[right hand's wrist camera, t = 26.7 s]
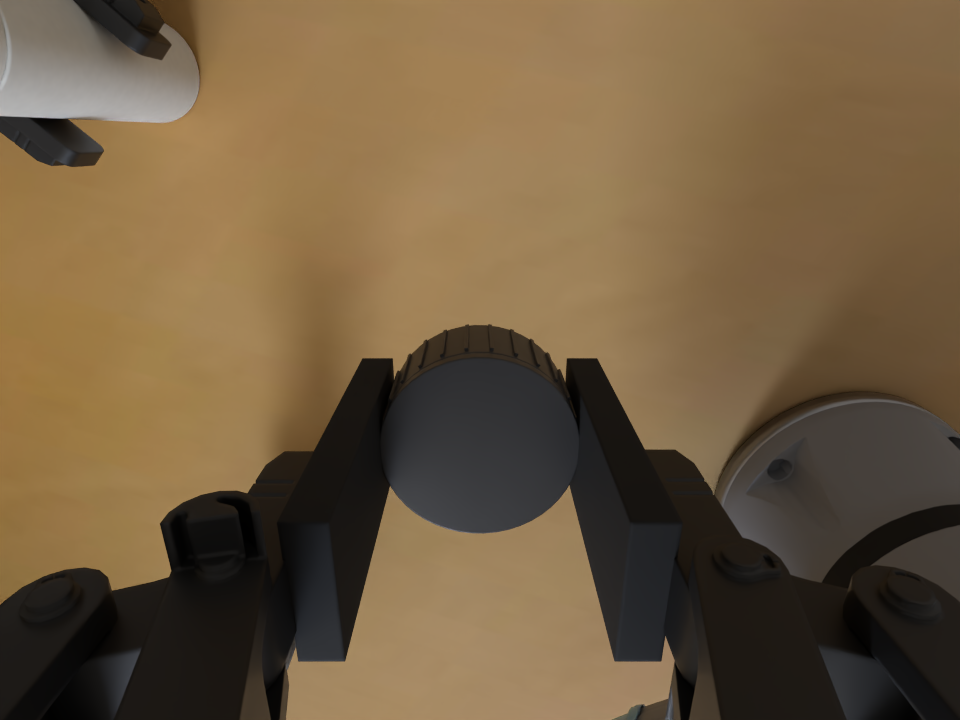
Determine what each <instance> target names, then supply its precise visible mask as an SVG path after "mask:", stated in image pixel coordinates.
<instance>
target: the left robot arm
mask: <svg viewBox="0 0 960 720" xmlns="http://www.w3.org/2000/svg"><path fill="white" fill-rule="evenodd" d="M73 1H74V2H76V3H77V4H78V5H79V6H80V7H81V8H83V9H84V10H85V11H86V12H87V13H88V14H90V15H91V16H92V17H93V18H94V19H95V20H97V21H98V22H99V23H100V24H101V25H102V26H104V27H105V28H106V29H107V30H108V31H109V32H111V33H112V34H113V35H114V36H115V37H116V38H118V39H119V40H120V41H121V42H122V43H123V44H125V45H126V46H127V47H128V48H130V49H131V50H133V51H134V52H136V53H138V54H140V55H142V56H145V57H150V58H154V59H158V60H163V58H164V57H165V55H166V54H167V52H168V50H169V49H170V47H171V46H172V44H171V43H170V42H169V41H168V40H167V39H166V38H165V37H164V36H163V35H162V34H161V33H159V31H160V29H161V28H162V26H163V25H164V21H163V19H162V18H161V16H160V14H159V13H158V11H157V9H156V8H155V7H154V6H153V5H152V4H151V3H149V2H148V1H147V0H73ZM0 132H1V133H2V134H4V135H5V136H6V137H7V138H9V139H10V140H11V141H13V142H15V144H16V145H18V146H19V147H20V148H22V149H24V150H25V151H26V152H27V153H28V154H29V155H31V156H32V157H33V158H35V159H36V160H37V161H40V162H42V163H45V164H48V165H51V166H58V165H67V166H70V167H78V166H93V165H95V164H96V163H97V161H98V159H99V158H100V156H101V155H102V153H103V152H104V150H103V148H102V147H101V146H100V145H99V144H98V143H97V142H96V141H94V140H93V139H92V138H91V137H89V136H88V135H87V134H86V133H84V132H83V131H82V130H81V129H79V128H78V127H77V126H76V125H74V124H73V123H72V122H71V121H69V120H68V119H59V118H35V117H12V116H0Z"/></svg>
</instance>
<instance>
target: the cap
mask: <svg viewBox="0 0 960 720" xmlns="http://www.w3.org/2000/svg"><path fill="white" fill-rule="evenodd" d="M387 402H388V405H387V408H386V411H385V414H384V417H383V423H382V427H381V431H380V446H381V459H382V468H383V471H384V473H385V476H386V478H387V480H388V482H389V484H390V486H391V488H392V489H393V491H394V492H395V493H396V495H397V496H398V497H399V498H400V500H401V501H402V502H403V503H404V504H405V505H406V506H407V507H408V508H410V509H411V510H412V511H413V512H415V513H416V514H417V515H419V516H420V517H422V518H424V519H425V520H427V521H429V522H431V523H433V524H435V525H438V526H441V527H444V528H446V529H450V530H454V531H459V532H466V533H493V532H499V531H504V530H509V529H512V528H515V527H518V526H521V525H523V524H525V523H527V522H530V521H532V520H533V519H535V518H537V517H538V516H540V515H542V514H543V513H544V512H545V511H547V510H548V509H549V508H551V507H552V506H553V505H554V504H555V503H556V502H557V501H558V500H559V499H560V497H561V496H562V495H563V493H564V492H565V491H566V489H567V488H568V486H569V484H570V482H571V481H572V479H573V476H574V474H575V471H576V469H577V463H578V450H579V428H578V424H577V416H576V414H575V411H574V408H573V405H572V402H571V397H570V394H569V392H568V389H567V386H566V383H565V381H564V378H563V375H562V372H561V370H560V369H559V370H557V368H556V366H555V364H554V363H553V362H552V360H551V357H550V354H549V353H548V352H547V353H545V352H544V351H543V350H542V349H541V348H540V347H539V346H538V345H536V344H535V343H534V341H533V340H532V339H530V340H529V339H528V338H526V337H524V336H522V335H521V334H518V333H516V332H514V330H512V329H510V330H508V329H504V328H500V327H495V326H492V325H490V324H488V326H487V325H472V326H469V325H465V326H463V327H459V328H455V329H451V330H448V331H447V330H444V331H443V333H440V334H438V335H437V336H435V337H433V338H431V339H429V340H428V341H427V340H425V341H424V343H423V344H422V345H421V346H420V347H419V348H418V349H417V350H416V351H414V352H413V353H412V355H411V354H409V355H408V357H407V361H406V362H405V364H404V365H403V367H402V369H401V370H400V371H397V373H396V376H395V380H394V383H393V386H392V389H391V392H390V395H389V398H388V401H387Z"/></svg>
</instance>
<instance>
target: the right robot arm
mask: <svg viewBox="0 0 960 720" xmlns="http://www.w3.org/2000/svg"><path fill="white" fill-rule="evenodd" d="M393 383H394V373H393V358H363V359H362V361H361V362H360V364H359V366H358V368H357V370H356V372H355V374H354V376H353V378H352V380H351V382H350V383H349V385H348V387H347V389H346V391H345V393H344V395H343V397H342V399H341V401H340V403H339V404H338V406H337V408H336V410H335V412H334V414H333V416H332V418H331V420H330V422H329V424H328V425H327V427H326V429H325V431H324V433H323V435H322V437H321V439H320V441H319V443H318V445H317V446H316V448H315V450H314V451H285V452H283V453H282V454H280V455H279V456H278V457H276V458H275V459H274V460H272V461H271V462H269V463H268V464H267V465H266V466H265V467H264V469H263V470H262V472H261V473H260V475H259V476H258V478H257V479H256V484H253V486H252V487H251V489H250V490H249V492H248V493H243V492H239V491H218V492H213V493H208V494H204V495H200V496H198V497H195V498H193V499H190V500H188V501H186V502H183V503H182V504H180V505H179V506H177V507H176V508H175V509H173V510H172V511H170V512H169V513H168V514H167V515H166V517H165V518H164V519H163V521H162V522H161V523H160V526H161V530H162V534H163V538H164V542H165V546H166V550H167V554H168V558H169V562H170V566H171V574H170V576H169V577H168V578H164V579H161V580H158V581H154V582H150V583H146V584H141V585H137V586H132V587H128V588H123V589H119V590H114V591H112V589H111V586H110V583H109V579H108V577H107V576H106V575H104V574H103V573H102V572H101V571H100V570H96V569H90V568H76V569H68V570H63V571H60V572H56V573H52V574H50V575H47V576H44V577H42V578H40V579H38V580H36V581H34V582H32V583H30V584H28V585H26V586H24V587H22V588H21V589H20V590H18V591H17V592H16V593H14V594H13V595H12V596H10V597H9V598H8V599H7V600H5V601H4V602H3V603H2V604H1V605H0V720H286V711H287V701H288V690H289V682H288V675H287V669H286V663H285V662H286V659H287V656H288V653H289V651H290V648H291V645H292V643H293V640H294V637H295V643H296V649H297V656H298V661H345V660H346V656H347V652H348V648H349V644H350V640H351V636H352V632H353V628H354V624H355V620H356V616H357V613H358V609H359V605H360V601H361V597H362V593H363V589H364V585H365V581H366V577H367V573H368V569H369V566H370V562H371V558H372V554H373V550H374V546H375V542H376V538H377V534H378V530H379V526H380V523H381V519H382V515H383V511H384V507H385V503H386V499H387V495H388V491H389V487H390V484H389V482H388V480H387V478H386V476H385V473H384V471H383V468H382V459H381V446H380V431H381V427H382V423H383V417H384V414H385V411H386V408H387V405H388V402H387V401H388V398H389V395H390V392H391V389H392V386H393ZM566 386H567V389H568V392H569V394H570V397H571V402H572V405H573V408H574V411H575V414H576V416H577V424H578V428H579V450H578V463H577V469H576V471H575V474H574V476H573V479H572V481H571V482H570V484H569V485H570V489H571V493H572V497H573V501H574V504H575V508H576V512H577V516H578V520H579V524H580V528H581V532H582V536H583V540H584V544H585V548H586V551H587V555H588V559H589V563H590V567H591V571H592V575H593V579H594V583H595V587H596V591H597V594H598V598H599V602H600V606H601V610H602V614H603V618H604V622H605V626H606V630H607V634H608V638H609V641H610V645H611V649H612V653H613V657H614V661H661V660H662V653H663V647H664V640H665V635H666V638H667V641H668V644H669V646H670V649H671V652H672V654H673V657H674V660H675V663H674V669H673V675H672V681H671V687H670V693H669V699H666V700H663V701H660V702H657V703H654V704H651V705H648V706H645V705H644V704H642V705H636V706H634V707H631V709H630V710H629V712H628V713H627V714H625V715H622V716H620V717H617V718H615V719H612V720H960V435H959V434H958V433H957V432H956V431H955V430H954V429H952V428H951V427H950V426H949V425H948V424H947V423H946V422H944V421H943V420H941V419H940V418H939V417H937V416H935V415H934V414H932V413H931V412H929V411H927V410H926V409H924V408H922V407H920V406H919V405H917V404H915V403H913V402H911V401H908V400H906V399H903V398H900V397H897V396H893V395H888V394H883V393H874V392H849V393H840V394H835V395H829V396H825V397H821V398H818V399H814V400H811V401H809V402H806V403H803V404H801V405H798V406H796V407H794V408H792V409H790V410H788V411H786V412H784V413H782V414H780V415H779V416H777V417H775V418H774V419H772V420H771V421H769V422H768V423H766V424H765V425H764V426H762V427H761V428H760V429H759V430H757V431H756V432H755V433H754V434H753V435H752V436H751V437H750V438H748V439H747V441H746V442H745V443H744V444H743V445H742V446H741V447H740V448H739V449H738V451H737V452H736V453H735V454H734V456H733V457H732V458H731V460H730V461H729V463H728V465H727V466H726V468H725V470H724V472H723V474H722V476H721V478H720V480H719V483H718V485H717V488H716V491H715V495H713V492H712V490H711V488H710V487H709V485H708V484H707V482H704V478H703V476H702V475H701V473H700V472H699V470H698V469H697V467H696V465H695V464H694V463H693V462H692V461H690V460H689V459H687V458H686V457H685V456H683V455H682V454H680V453H679V452H678V451H676V450H645V449H644V447H643V445H642V443H641V442H640V440H639V438H638V436H637V434H636V432H635V430H634V428H633V426H632V424H631V422H630V421H629V419H628V417H627V415H626V413H625V411H624V409H623V407H622V405H621V403H620V401H619V400H618V398H617V396H616V394H615V392H614V390H613V388H612V386H611V384H610V382H609V380H608V379H607V377H606V375H605V373H604V371H603V369H602V367H601V365H600V363H599V361H598V359H597V358H567V366H566Z"/></svg>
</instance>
